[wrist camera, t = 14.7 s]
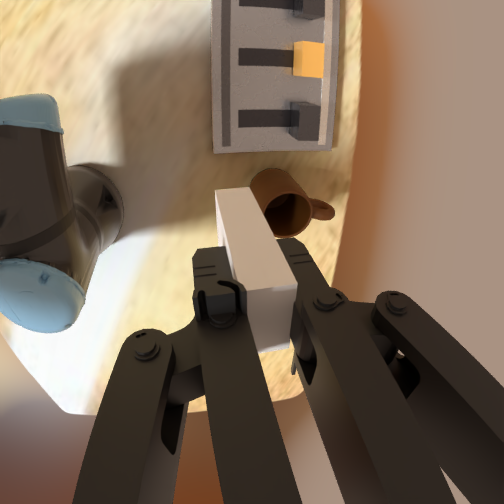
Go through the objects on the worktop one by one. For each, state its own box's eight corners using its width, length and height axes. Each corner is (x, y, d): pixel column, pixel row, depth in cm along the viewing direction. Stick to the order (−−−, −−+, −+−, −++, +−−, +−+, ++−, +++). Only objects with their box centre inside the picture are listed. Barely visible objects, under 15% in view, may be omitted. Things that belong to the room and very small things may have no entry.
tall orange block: (293, 75, 37) (301, 76, 34) (294, 42, 34) (302, 40, 31) (313, 76, 37) (323, 78, 34) (314, 44, 34) (324, 43, 32)
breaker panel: (212, 150, 43) (216, 161, 39) (211, -28, 27) (215, -41, 23) (326, 147, 46) (342, 158, 42) (333, -16, 30) (351, -23, 26)
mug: (321, 172, 49) (347, 195, 41) (311, 212, 53) (333, 241, 45) (251, 164, 46) (265, 187, 38) (244, 208, 50) (256, 239, 42)
